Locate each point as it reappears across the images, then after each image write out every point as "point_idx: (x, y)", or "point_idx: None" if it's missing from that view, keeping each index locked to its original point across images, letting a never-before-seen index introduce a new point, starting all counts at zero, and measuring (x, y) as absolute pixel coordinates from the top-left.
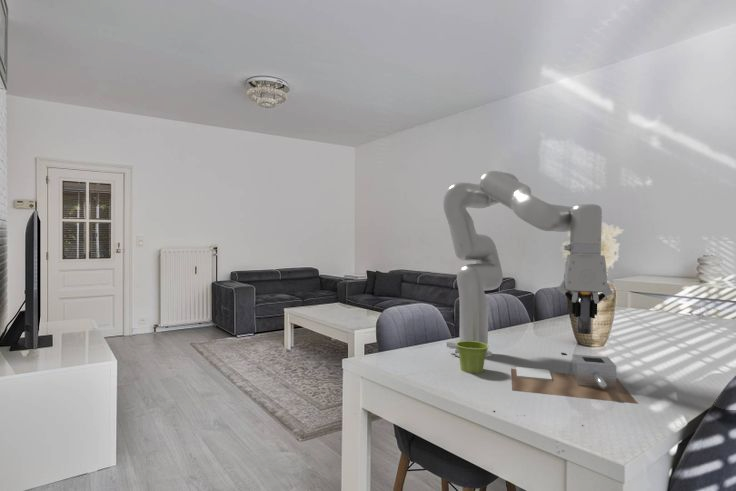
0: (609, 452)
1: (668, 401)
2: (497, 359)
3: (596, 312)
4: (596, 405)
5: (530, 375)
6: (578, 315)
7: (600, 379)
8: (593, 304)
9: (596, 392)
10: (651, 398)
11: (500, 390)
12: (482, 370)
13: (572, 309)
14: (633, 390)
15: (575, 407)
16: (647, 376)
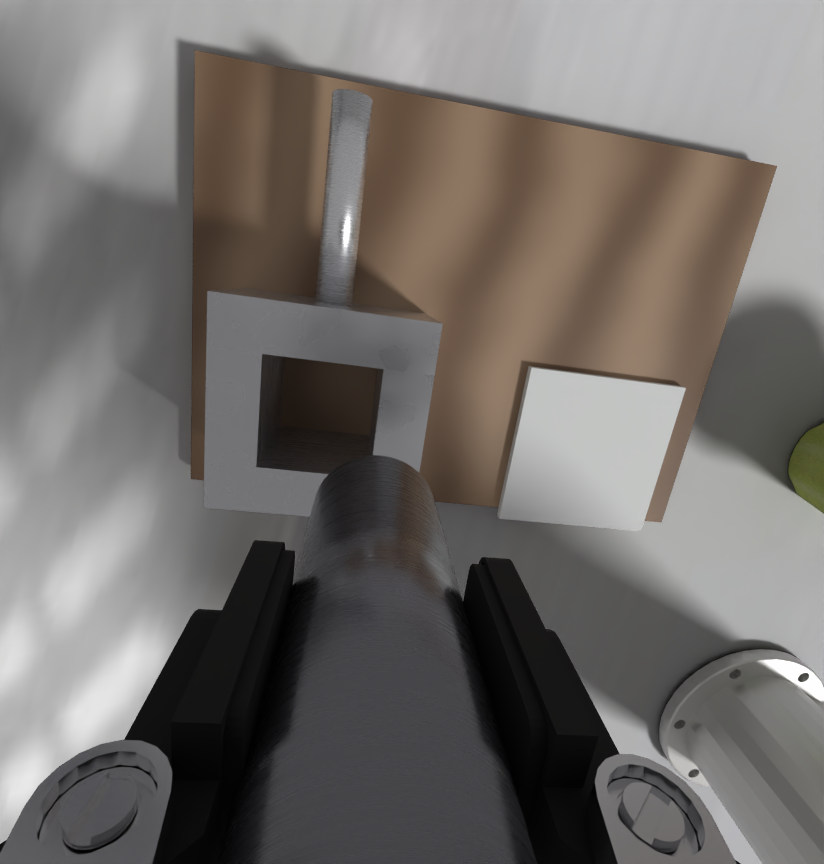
0: None
1: (16, 217)
2: (647, 687)
3: (197, 627)
4: (401, 81)
5: (619, 405)
6: (461, 599)
7: (351, 156)
8: (216, 703)
9: (363, 211)
10: (91, 250)
11: (786, 235)
12: (814, 449)
13: (571, 664)
14: (149, 362)
15: (515, 28)
16: (23, 593)
